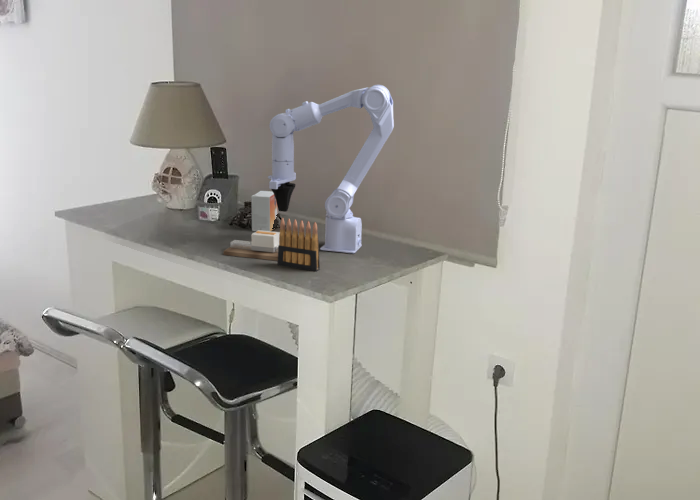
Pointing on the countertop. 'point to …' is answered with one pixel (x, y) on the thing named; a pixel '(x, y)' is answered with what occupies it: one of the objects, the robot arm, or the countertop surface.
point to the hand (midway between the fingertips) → (283, 210)
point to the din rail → (245, 245)
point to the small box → (263, 210)
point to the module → (265, 240)
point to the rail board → (251, 254)
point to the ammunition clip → (298, 246)
